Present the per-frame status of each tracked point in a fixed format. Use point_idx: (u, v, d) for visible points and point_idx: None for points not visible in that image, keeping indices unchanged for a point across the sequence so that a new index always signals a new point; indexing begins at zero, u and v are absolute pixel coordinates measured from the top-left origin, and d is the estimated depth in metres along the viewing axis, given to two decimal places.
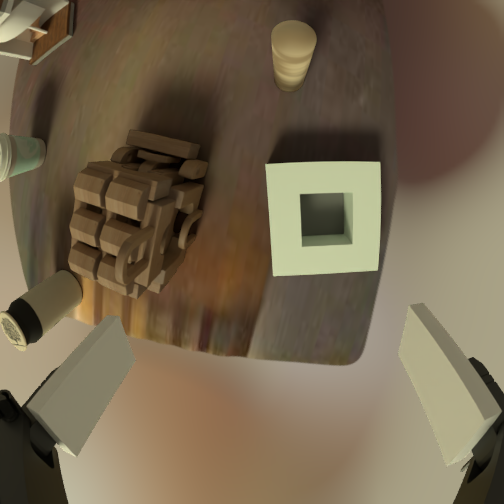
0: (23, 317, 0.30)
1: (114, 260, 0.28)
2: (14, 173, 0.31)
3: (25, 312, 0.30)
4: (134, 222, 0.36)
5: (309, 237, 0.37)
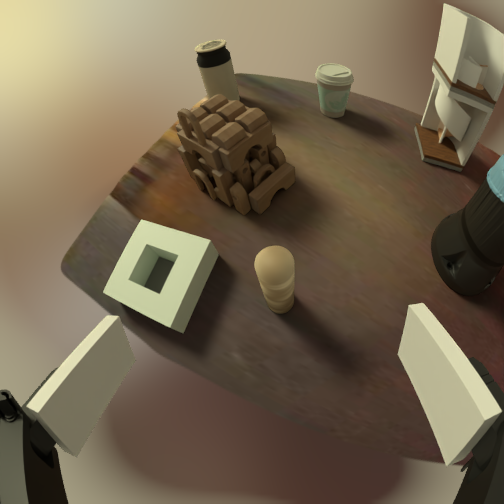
0: (213, 57, 0.49)
1: (202, 119, 0.41)
2: None
3: (215, 59, 0.49)
4: None
5: (153, 261, 0.45)
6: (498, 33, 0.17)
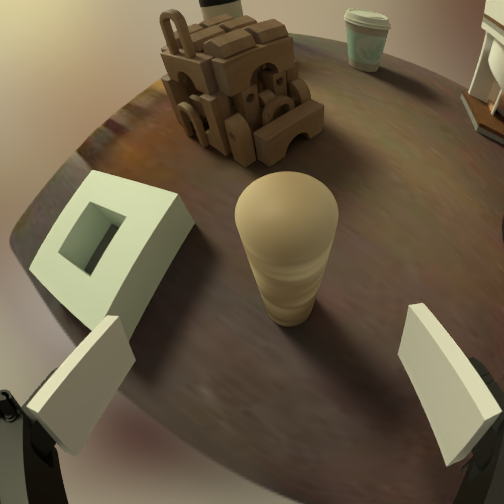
0: None
1: None
2: (346, 30, 0.33)
3: None
4: None
5: (101, 229, 0.28)
6: None
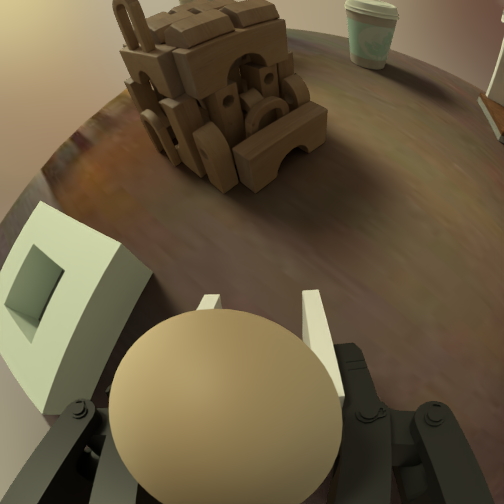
0: None
1: None
2: (347, 21, 0.27)
3: None
4: None
5: (53, 273, 0.21)
6: None
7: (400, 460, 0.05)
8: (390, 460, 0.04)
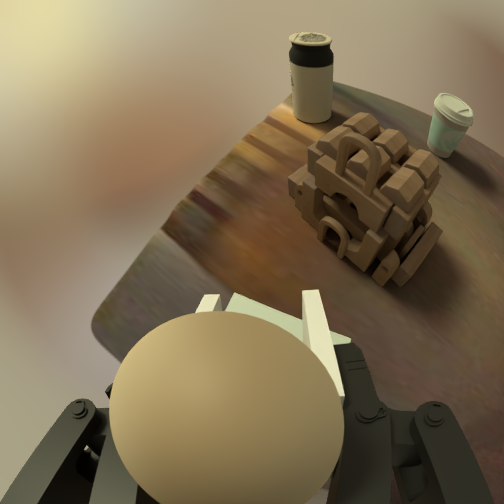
0: (317, 55, 0.35)
1: (353, 149, 0.28)
2: (434, 117, 0.37)
3: (320, 59, 0.36)
4: None
5: None
6: None
7: (401, 460, 0.05)
8: (390, 460, 0.04)
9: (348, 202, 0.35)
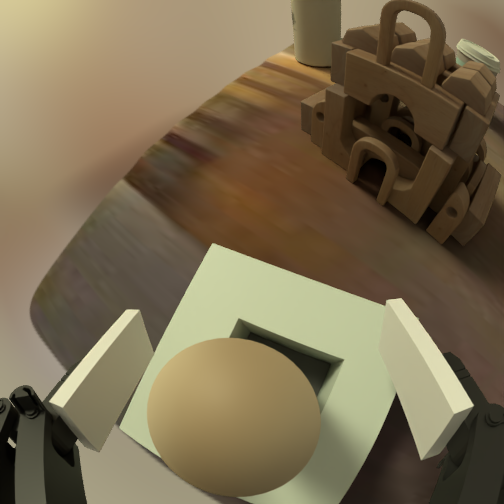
0: None
1: (393, 46, 0.15)
2: (459, 63, 0.24)
3: None
4: None
5: None
6: None
7: None
8: None
9: (386, 128, 0.22)
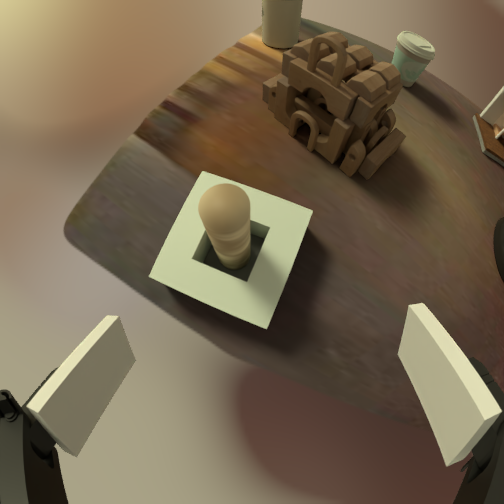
0: None
1: (323, 55, 0.27)
2: (396, 50, 0.36)
3: None
4: None
5: None
6: None
7: None
8: None
9: (317, 103, 0.35)
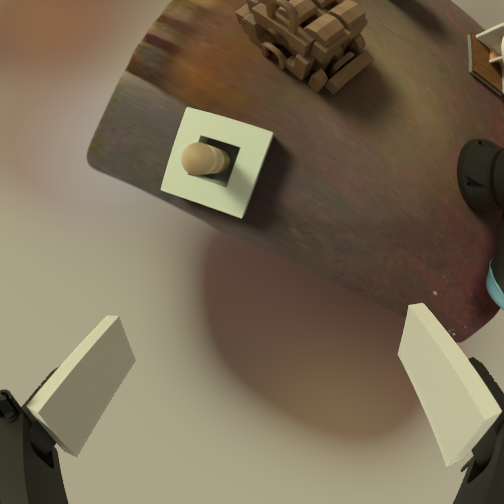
0: None
1: None
2: None
3: None
4: None
5: None
6: None
7: None
8: None
9: None
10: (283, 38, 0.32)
